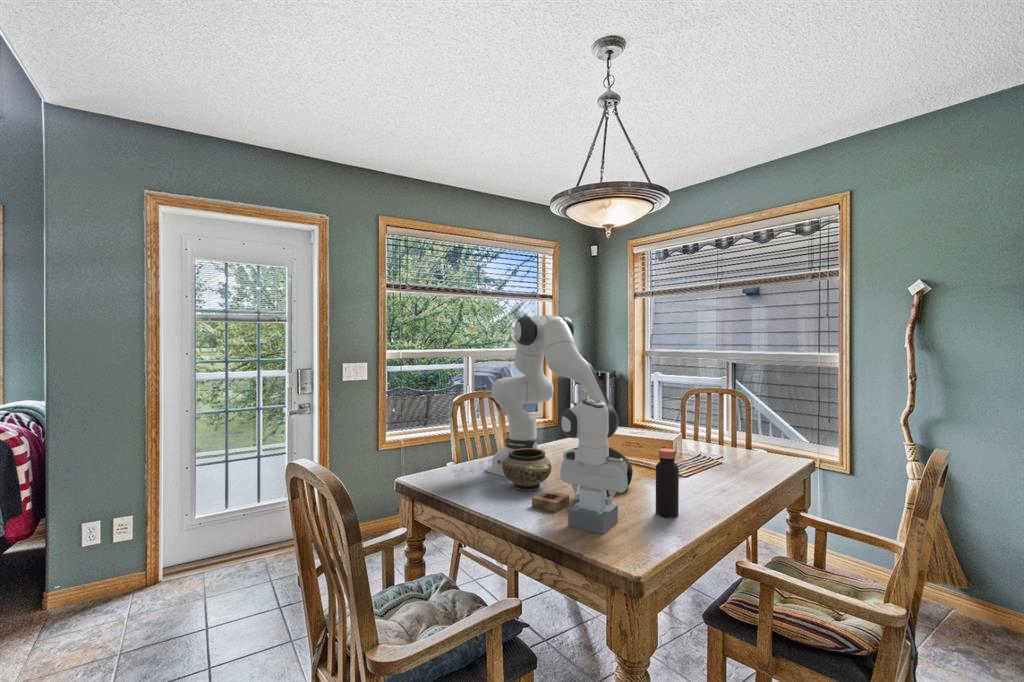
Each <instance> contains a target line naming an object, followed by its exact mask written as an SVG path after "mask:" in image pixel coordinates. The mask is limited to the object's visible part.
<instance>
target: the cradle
mask: <svg viewBox="0 0 1024 682" xmlns="http://www.w3.org/2000/svg"><path fill="white" fill-rule="evenodd" d="M568 504H569V505H570V495H569V494H564V493H560V492H554V491H551V490H544V491H542V492H540V493H538V494H536V495H535V496H533V497H531V507H532V508H534V507H536V508H535V509H538V508H540V510H543V509H545V510H544V511H548V510H549V512H552V511H553V513H558V512H560V511H562V510H563V509H564V508H566V507H567V506H569V505H568ZM559 510H560V511H559Z"/></svg>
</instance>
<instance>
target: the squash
mask: <svg viewBox="0 0 1024 682" xmlns="http://www.w3.org/2000/svg"><path fill="white" fill-rule="evenodd" d="M609 457H612V458H616V459H622V460H623V461H625V462H626V463H627V466H628V471H627V479H628V487H629V486H630V484H631V481H632V479H633V473H634V472H633V471H634V469H633V467H632V464H631V462H630V461H629V459H628V458H627V457H626V456H625V455H624V454H622V453H621V452H619V451H617V450H615V449H614V448H612V447H610V446H609ZM622 463H624V462H622Z"/></svg>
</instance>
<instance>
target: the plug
mask: <svg viewBox="0 0 1024 682" xmlns="http://www.w3.org/2000/svg"><path fill="white" fill-rule="evenodd" d="M578 489H579V499H578V500H579V501H578V502H579V508H581V509H586V510H591V511H596V512H599V511H601V510H602V509H603V508H605V507H606V505H605V499H606V498H607V497H608V496H607V491H608V490H604V489H598V488H593V487H587V486H584V487H582V488H581V489H580V488H578Z"/></svg>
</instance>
